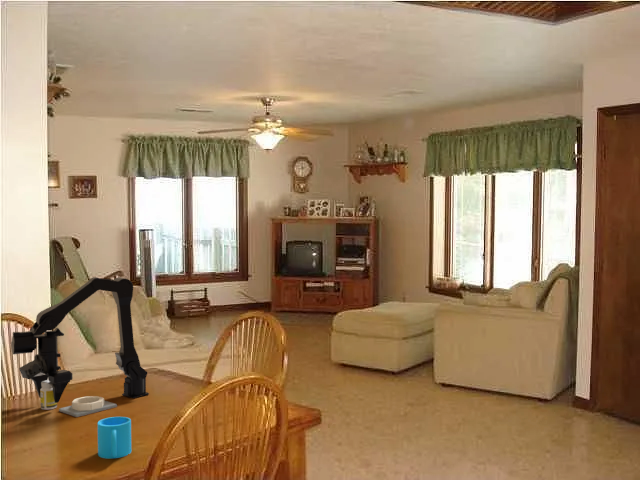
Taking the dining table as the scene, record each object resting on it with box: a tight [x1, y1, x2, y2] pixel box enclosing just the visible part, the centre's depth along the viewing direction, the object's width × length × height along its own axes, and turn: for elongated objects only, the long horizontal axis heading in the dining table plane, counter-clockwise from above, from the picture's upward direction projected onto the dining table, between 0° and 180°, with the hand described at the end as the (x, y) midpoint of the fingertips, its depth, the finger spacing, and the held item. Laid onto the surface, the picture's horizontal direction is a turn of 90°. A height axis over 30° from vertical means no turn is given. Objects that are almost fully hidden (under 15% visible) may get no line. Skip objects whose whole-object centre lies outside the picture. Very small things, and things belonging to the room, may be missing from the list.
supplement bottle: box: [39, 380, 58, 411], centre depth 215 cm, size 5×5×8 cm
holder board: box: [58, 395, 118, 418], centre depth 214 cm, size 14×10×3 cm
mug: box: [97, 416, 132, 459], centre depth 173 cm, size 12×8×8 cm
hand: (48, 400), depth 215 cm, fingers open, 9 cm apart
